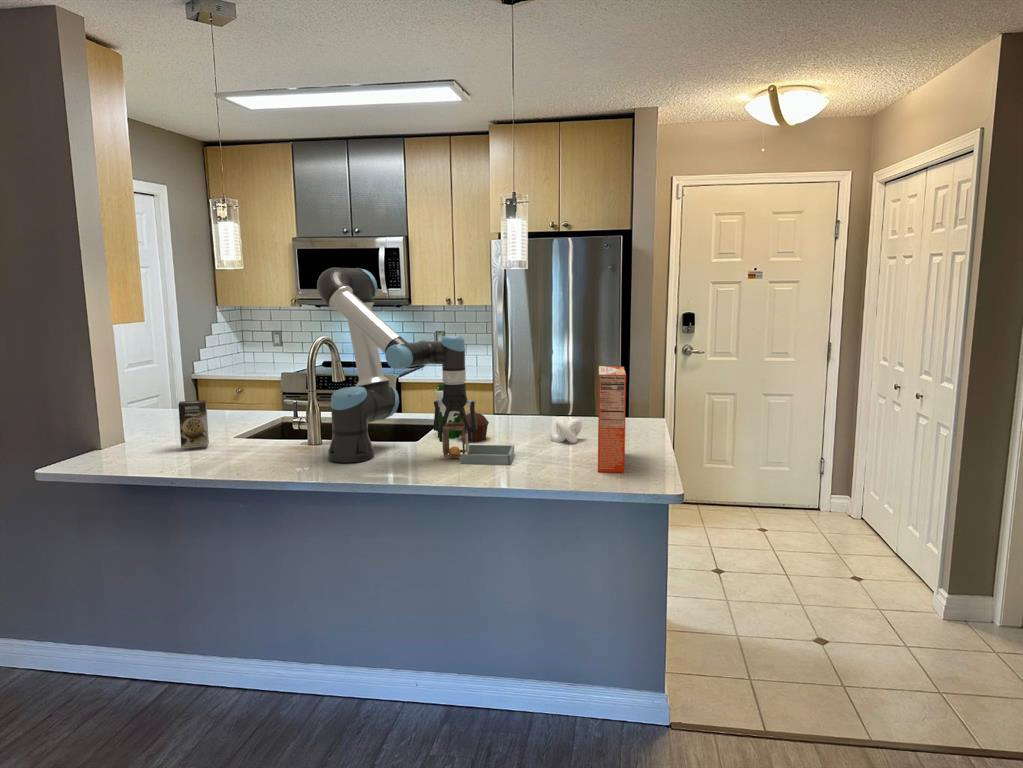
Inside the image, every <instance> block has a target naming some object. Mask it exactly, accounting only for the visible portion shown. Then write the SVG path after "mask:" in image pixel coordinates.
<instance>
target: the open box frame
mask: <svg viewBox="0 0 1023 768" xmlns="http://www.w3.org/2000/svg"><path fill="white" fill-rule="evenodd" d="M449 426H463V427H449ZM449 430H462V435H461V439H462V441H461V442H462V449H460V451H461V453H460V454H449V449H450V438H449ZM466 432H467V429H466V427H465V424H464V423H446V424H445V425H444V426H443V447H442V454H443V458H451V457H458V458H461V454H466V444H465V433H466Z"/></svg>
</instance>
